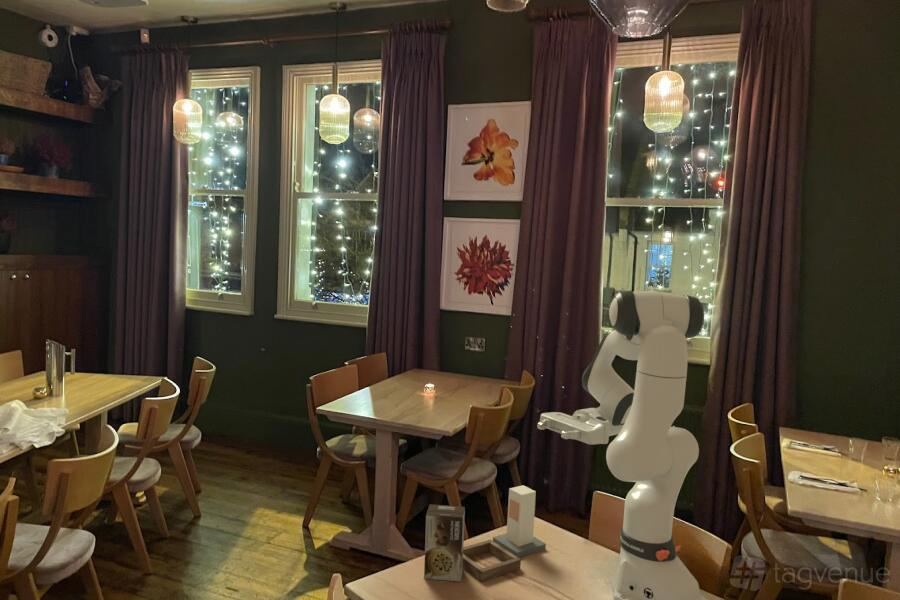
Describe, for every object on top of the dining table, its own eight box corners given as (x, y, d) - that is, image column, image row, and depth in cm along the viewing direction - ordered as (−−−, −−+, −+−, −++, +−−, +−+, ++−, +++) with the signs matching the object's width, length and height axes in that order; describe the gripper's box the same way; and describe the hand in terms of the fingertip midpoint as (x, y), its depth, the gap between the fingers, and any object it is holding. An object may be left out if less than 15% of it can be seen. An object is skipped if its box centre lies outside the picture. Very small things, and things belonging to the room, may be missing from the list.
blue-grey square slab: (545, 549, 175) (545, 543, 175) (516, 558, 169) (517, 552, 169) (520, 534, 183) (520, 529, 183) (492, 542, 177) (492, 537, 177)
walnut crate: (520, 568, 164) (520, 559, 163) (481, 581, 156) (482, 571, 156) (489, 548, 173) (490, 539, 173) (452, 559, 166) (452, 550, 166)
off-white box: (532, 542, 175) (535, 491, 174) (517, 546, 172) (521, 495, 171) (520, 534, 179) (523, 485, 178) (505, 539, 176) (508, 488, 175)
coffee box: (462, 569, 162) (466, 506, 160) (460, 582, 156) (464, 517, 154) (426, 565, 163) (429, 503, 161) (422, 578, 157) (425, 513, 155)
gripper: (560, 405, 196) (526, 410, 188) (614, 422, 179) (578, 429, 171) (559, 425, 196) (524, 431, 188) (612, 445, 180) (576, 452, 172)
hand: (550, 430), depth 180 cm, fingers open, 8 cm apart
